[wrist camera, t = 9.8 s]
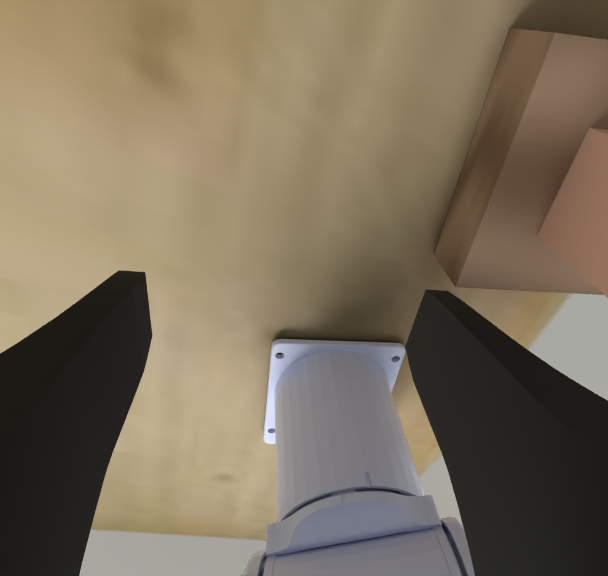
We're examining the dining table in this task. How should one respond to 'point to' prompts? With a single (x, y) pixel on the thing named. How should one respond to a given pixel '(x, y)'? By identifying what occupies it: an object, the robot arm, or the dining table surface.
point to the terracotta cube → (583, 212)
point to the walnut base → (524, 163)
